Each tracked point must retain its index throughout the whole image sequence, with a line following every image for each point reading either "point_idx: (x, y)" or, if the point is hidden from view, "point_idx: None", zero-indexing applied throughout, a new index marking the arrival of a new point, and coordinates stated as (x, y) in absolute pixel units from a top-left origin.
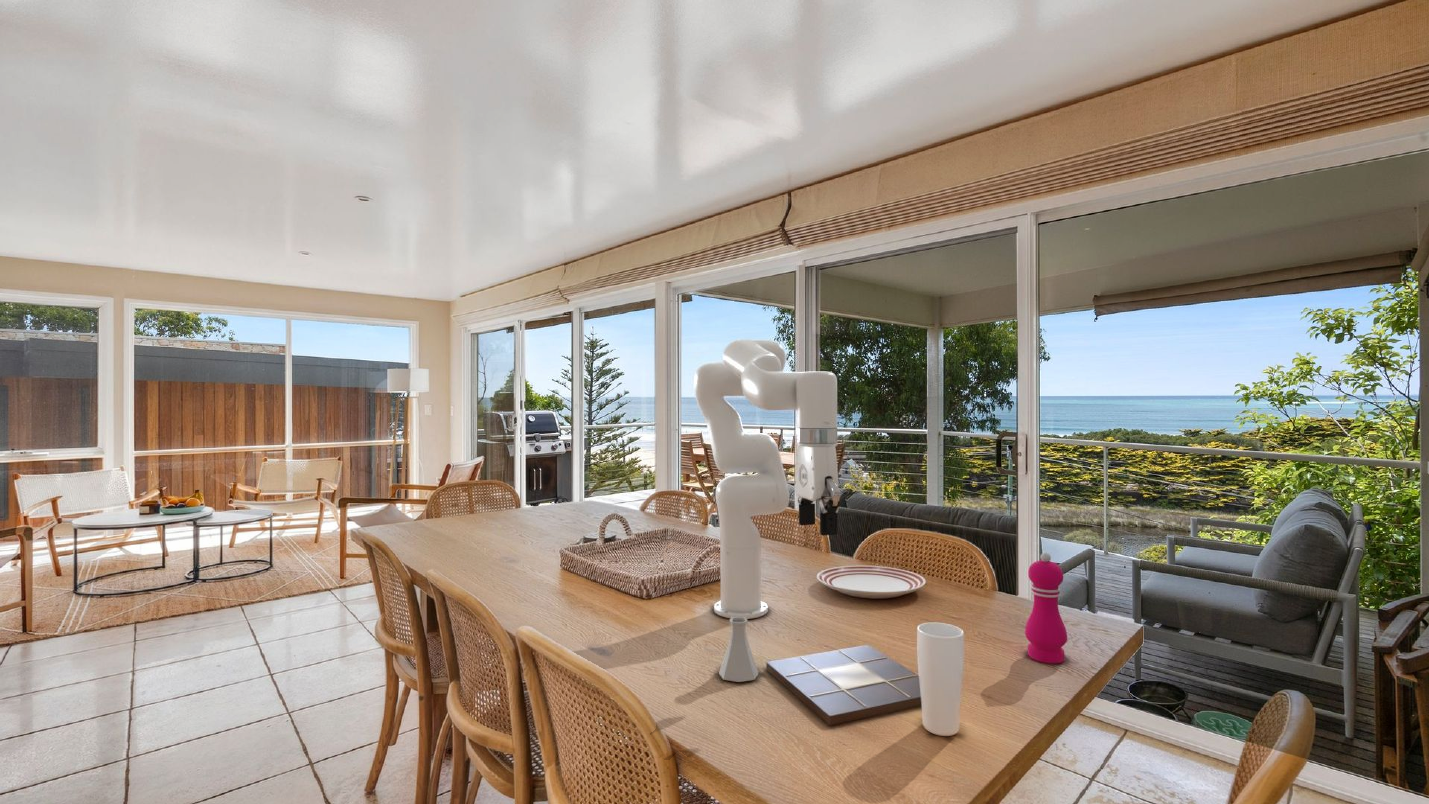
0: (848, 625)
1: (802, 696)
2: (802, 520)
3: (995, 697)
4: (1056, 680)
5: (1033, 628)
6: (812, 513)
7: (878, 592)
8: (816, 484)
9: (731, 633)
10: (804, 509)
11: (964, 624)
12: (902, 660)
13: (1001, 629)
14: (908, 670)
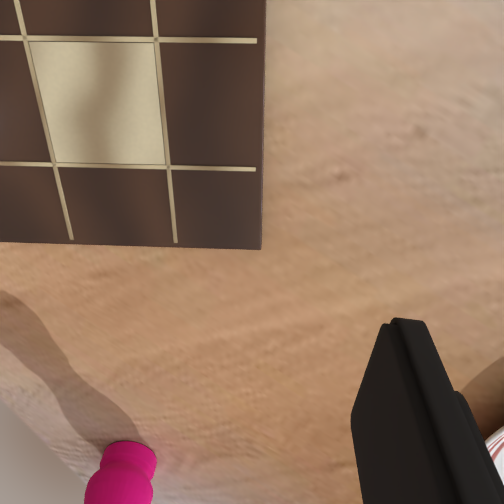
0: (425, 294)
1: None
2: (386, 361)
3: (4, 310)
4: (50, 415)
5: (108, 490)
6: (372, 495)
7: (494, 434)
8: None
9: None
10: (408, 488)
11: (302, 458)
12: (194, 276)
13: (254, 481)
14: (100, 241)
